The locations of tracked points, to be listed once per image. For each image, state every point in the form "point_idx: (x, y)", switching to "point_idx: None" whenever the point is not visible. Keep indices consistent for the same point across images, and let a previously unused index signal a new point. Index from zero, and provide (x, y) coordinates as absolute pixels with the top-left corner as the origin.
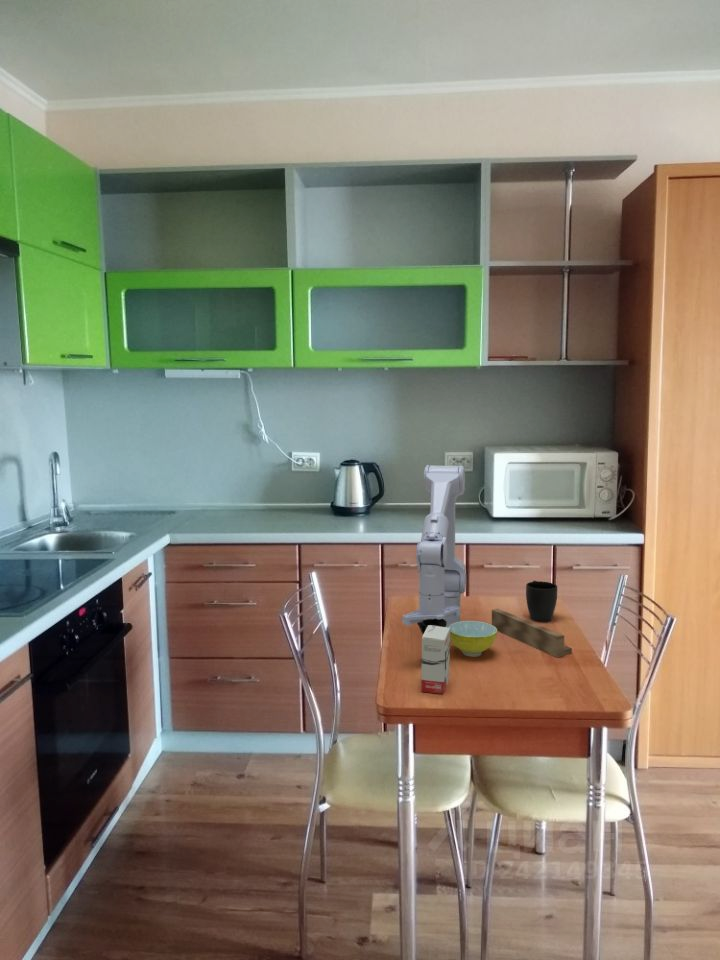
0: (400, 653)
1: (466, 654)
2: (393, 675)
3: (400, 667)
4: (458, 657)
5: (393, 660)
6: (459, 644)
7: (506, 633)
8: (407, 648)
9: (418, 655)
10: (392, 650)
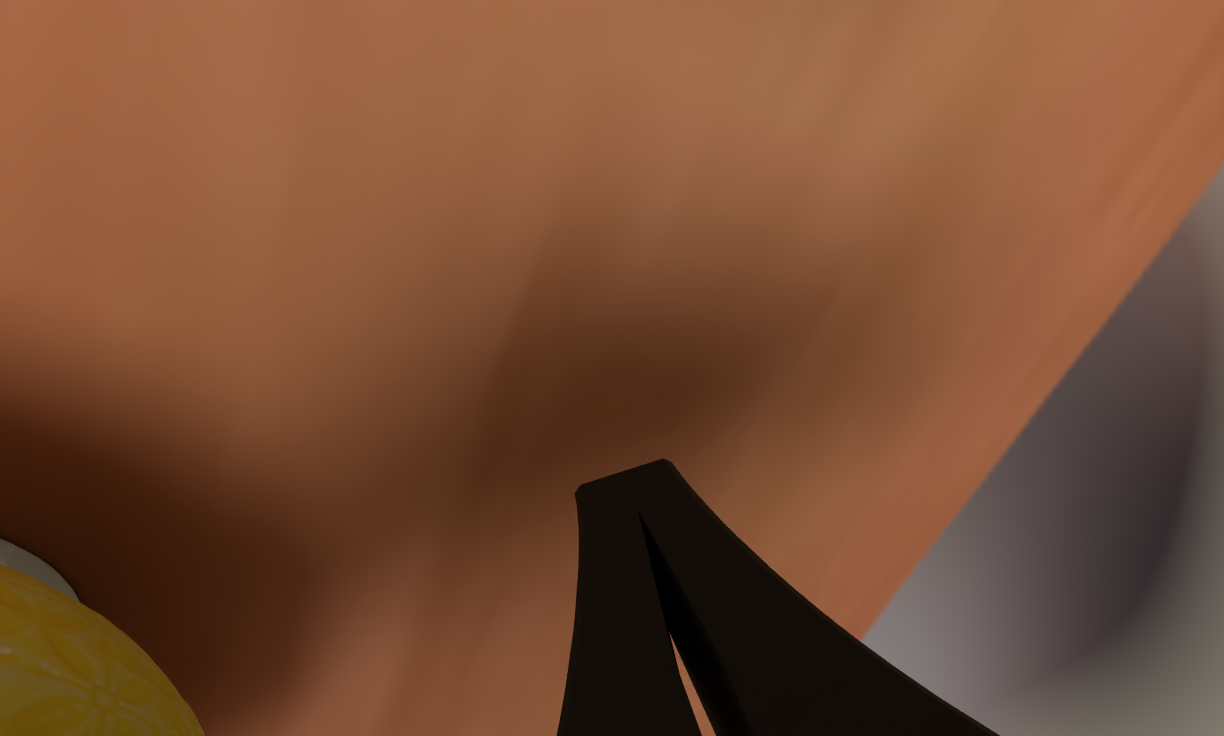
0: None
1: (19, 564)
2: (1188, 121)
3: (978, 330)
4: (170, 513)
5: (928, 497)
6: (75, 648)
7: None
8: None
9: None
10: None
